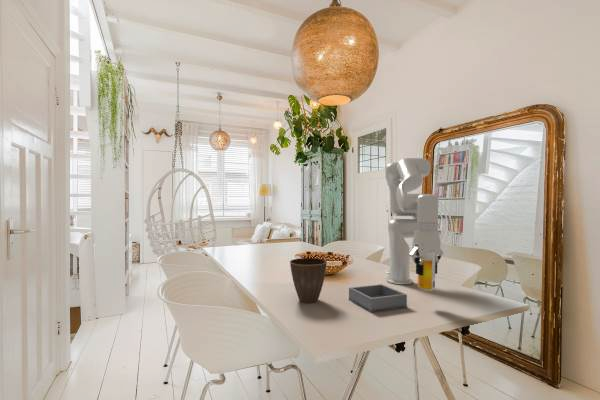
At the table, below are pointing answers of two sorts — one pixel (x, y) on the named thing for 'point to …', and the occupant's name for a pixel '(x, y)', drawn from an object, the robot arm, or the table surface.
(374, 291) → the box
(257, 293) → the table surface
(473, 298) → the table surface
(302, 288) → the plant pot
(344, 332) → the table surface
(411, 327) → the table surface
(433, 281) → the beer can
